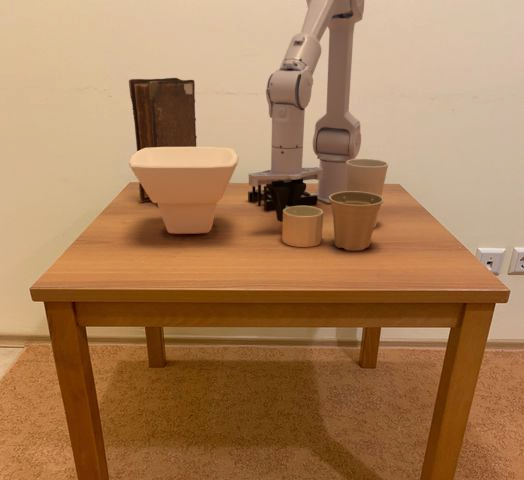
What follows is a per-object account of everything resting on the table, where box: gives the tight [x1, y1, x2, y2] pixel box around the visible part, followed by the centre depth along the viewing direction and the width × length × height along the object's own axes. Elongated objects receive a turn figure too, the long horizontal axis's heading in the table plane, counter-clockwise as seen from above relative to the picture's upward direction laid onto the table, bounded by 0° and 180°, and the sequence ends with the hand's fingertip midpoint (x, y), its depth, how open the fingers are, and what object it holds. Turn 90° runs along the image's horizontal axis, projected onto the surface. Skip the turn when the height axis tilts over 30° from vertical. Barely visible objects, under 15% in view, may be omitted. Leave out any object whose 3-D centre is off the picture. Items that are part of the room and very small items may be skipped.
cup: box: [346, 158, 389, 228], centre depth 101 cm, size 8×8×12 cm
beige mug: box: [281, 205, 324, 248], centre depth 95 cm, size 11×7×6 cm, turn 26°
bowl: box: [128, 146, 239, 235], centre depth 96 cm, size 19×19×14 cm
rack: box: [247, 185, 318, 212], centre depth 116 cm, size 13×10×5 cm
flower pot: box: [329, 191, 385, 252], centre depth 91 cm, size 9×9×9 cm
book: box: [128, 77, 197, 203], centre depth 114 cm, size 17×7×25 cm, turn 144°
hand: (284, 220), depth 99 cm, fingers closed on beige mug
